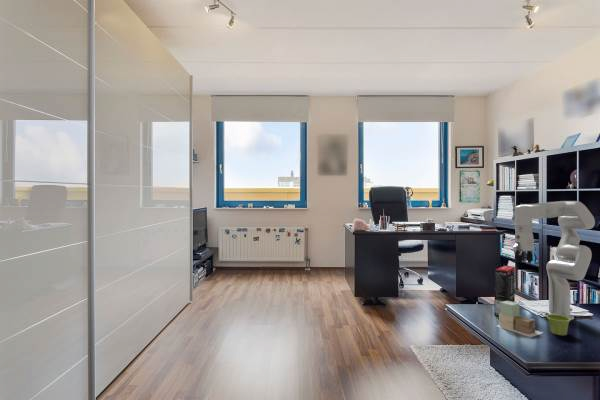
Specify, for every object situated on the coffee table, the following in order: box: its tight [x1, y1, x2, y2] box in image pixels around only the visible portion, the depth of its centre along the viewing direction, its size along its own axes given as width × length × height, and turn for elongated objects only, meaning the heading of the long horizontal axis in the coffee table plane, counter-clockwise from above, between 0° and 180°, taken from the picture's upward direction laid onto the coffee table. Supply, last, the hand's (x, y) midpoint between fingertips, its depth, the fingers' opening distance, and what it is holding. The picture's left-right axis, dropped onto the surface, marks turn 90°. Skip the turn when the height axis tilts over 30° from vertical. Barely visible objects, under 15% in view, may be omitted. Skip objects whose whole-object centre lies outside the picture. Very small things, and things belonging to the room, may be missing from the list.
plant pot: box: [545, 314, 572, 336], centre depth 168 cm, size 9×9×9 cm
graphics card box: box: [493, 265, 516, 318], centre depth 198 cm, size 17×7×27 cm, turn 136°
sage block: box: [500, 301, 520, 317], centre depth 177 cm, size 6×6×6 cm
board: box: [496, 324, 544, 338], centre depth 173 cm, size 11×17×1 cm, turn 28°
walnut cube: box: [515, 315, 536, 334], centre depth 170 cm, size 6×6×6 cm
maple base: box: [498, 313, 522, 330], centre depth 177 cm, size 7×7×6 cm
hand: (524, 261), depth 182 cm, fingers open, 9 cm apart
